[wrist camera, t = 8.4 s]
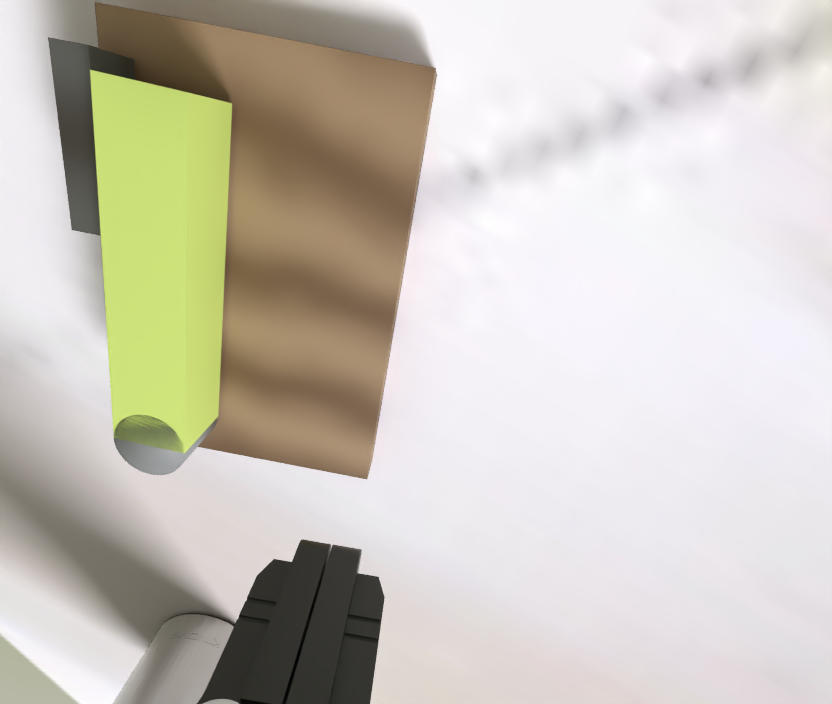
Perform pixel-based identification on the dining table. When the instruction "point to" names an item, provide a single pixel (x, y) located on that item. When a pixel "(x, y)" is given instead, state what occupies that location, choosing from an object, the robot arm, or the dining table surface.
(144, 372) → the yellow-green long bar
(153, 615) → the dining table surface
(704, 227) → the dining table surface
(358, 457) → the board
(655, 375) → the dining table surface
